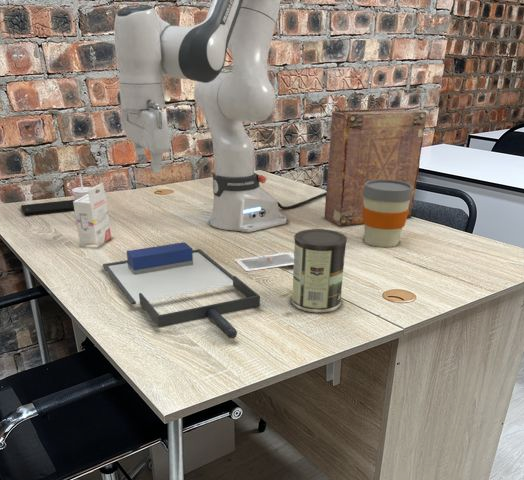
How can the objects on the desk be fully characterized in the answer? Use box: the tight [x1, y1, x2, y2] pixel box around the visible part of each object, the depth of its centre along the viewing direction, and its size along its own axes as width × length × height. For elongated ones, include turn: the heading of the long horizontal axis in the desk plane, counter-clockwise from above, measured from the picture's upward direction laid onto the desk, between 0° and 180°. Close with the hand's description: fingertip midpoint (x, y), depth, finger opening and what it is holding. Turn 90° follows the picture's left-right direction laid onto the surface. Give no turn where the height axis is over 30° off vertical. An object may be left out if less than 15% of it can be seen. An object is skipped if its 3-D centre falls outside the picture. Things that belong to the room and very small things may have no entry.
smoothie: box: [71, 173, 97, 200], centre depth 156 cm, size 6×6×14 cm
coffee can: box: [291, 228, 348, 313], centre depth 112 cm, size 10×10×14 cm
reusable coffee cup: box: [362, 180, 412, 248], centre depth 147 cm, size 12×13×15 cm
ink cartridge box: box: [73, 182, 112, 247], centre depth 142 cm, size 9×5×15 cm, turn 168°
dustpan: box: [139, 275, 261, 340], centre depth 107 cm, size 22×21×3 cm
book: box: [323, 107, 428, 227], centre depth 161 cm, size 25×9×30 cm, turn 114°
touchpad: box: [234, 251, 294, 272], centre depth 132 cm, size 8×15×2 cm, turn 113°
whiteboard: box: [102, 248, 234, 305], centre depth 125 cm, size 24×23×2 cm
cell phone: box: [20, 199, 75, 216], centre depth 171 cm, size 9×18×1 cm, turn 117°
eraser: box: [126, 241, 193, 275], centre depth 128 cm, size 14×5×4 cm, turn 119°
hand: (149, 167), depth 121 cm, fingers open, 8 cm apart
